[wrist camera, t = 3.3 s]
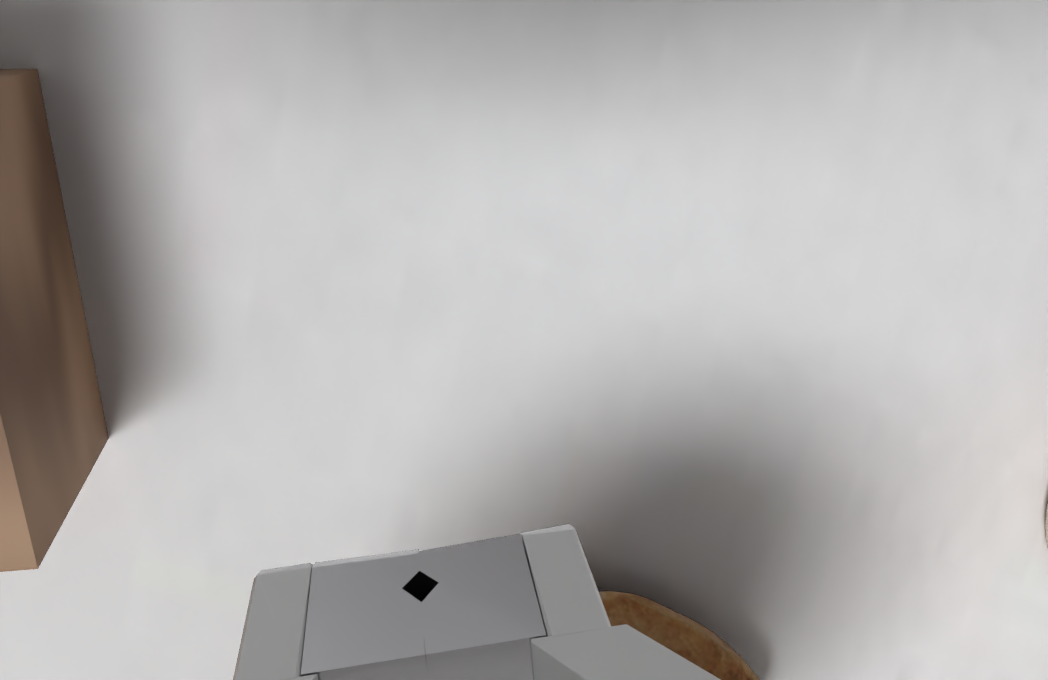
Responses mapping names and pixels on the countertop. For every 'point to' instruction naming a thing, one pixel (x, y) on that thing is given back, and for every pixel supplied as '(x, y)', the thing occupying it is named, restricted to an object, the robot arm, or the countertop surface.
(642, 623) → the stone cup
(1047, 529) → the teacup with lid
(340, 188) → the countertop surface
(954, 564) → the countertop surface
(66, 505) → the block
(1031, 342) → the countertop surface
